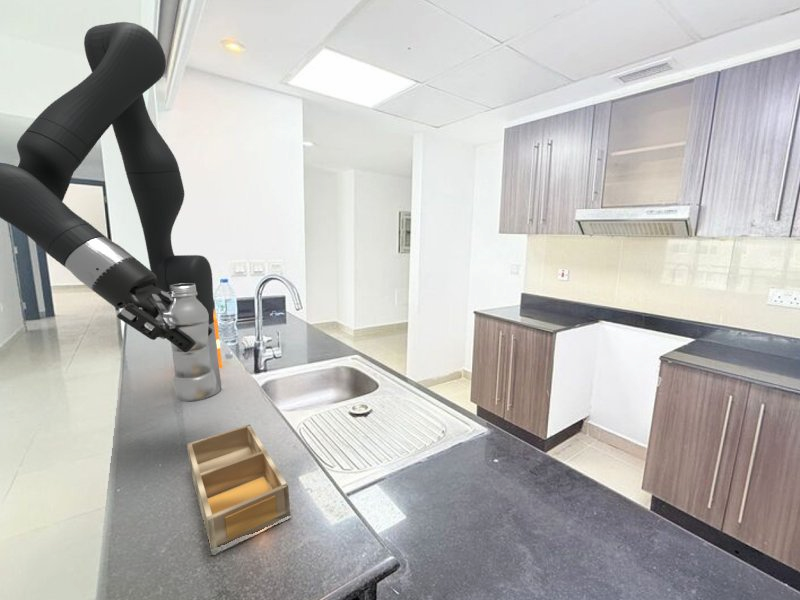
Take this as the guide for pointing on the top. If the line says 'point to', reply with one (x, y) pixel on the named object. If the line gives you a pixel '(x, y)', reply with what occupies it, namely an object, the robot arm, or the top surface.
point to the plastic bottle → (194, 365)
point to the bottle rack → (236, 485)
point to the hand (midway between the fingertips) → (200, 341)
